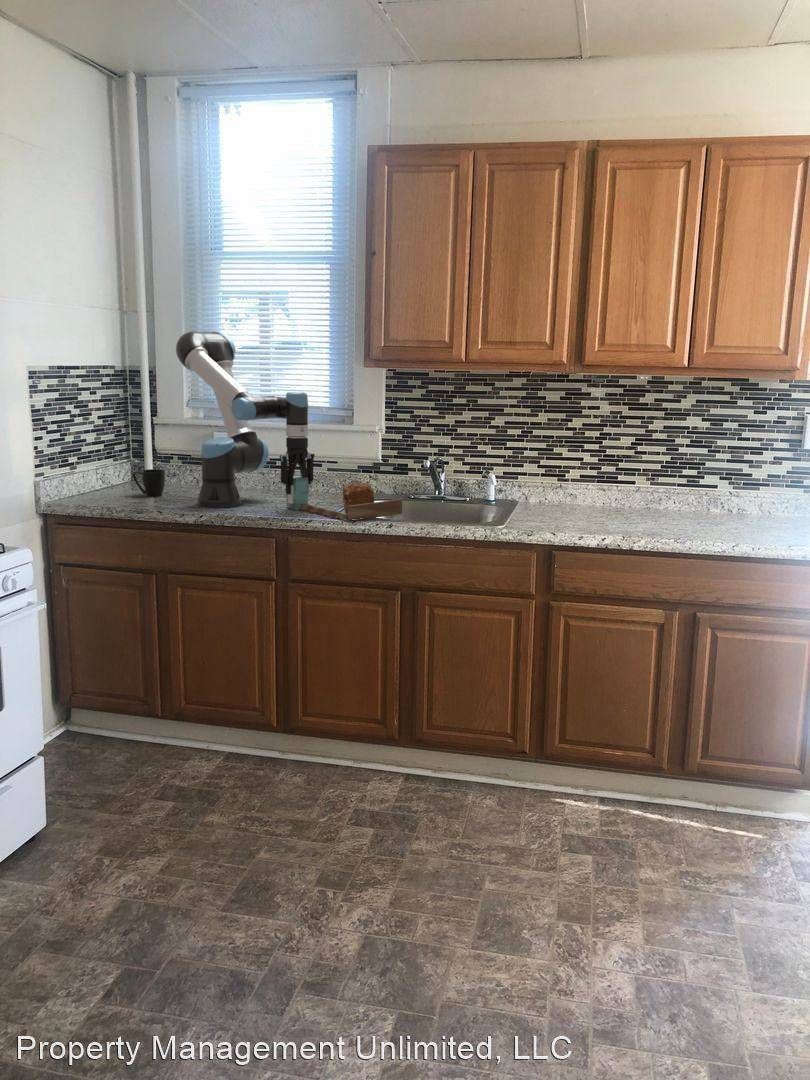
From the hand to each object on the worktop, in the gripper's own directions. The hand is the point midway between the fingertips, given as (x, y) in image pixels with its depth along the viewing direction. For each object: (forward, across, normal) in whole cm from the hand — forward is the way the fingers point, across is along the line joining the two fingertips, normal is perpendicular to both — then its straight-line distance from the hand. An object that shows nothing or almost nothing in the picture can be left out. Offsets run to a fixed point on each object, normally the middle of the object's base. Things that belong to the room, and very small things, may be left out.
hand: (297, 502), depth 324 cm
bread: (+3, +15, -15) cm, 22 cm away
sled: (+2, +10, -14) cm, 17 cm away
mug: (+2, -29, +55) cm, 62 cm away
